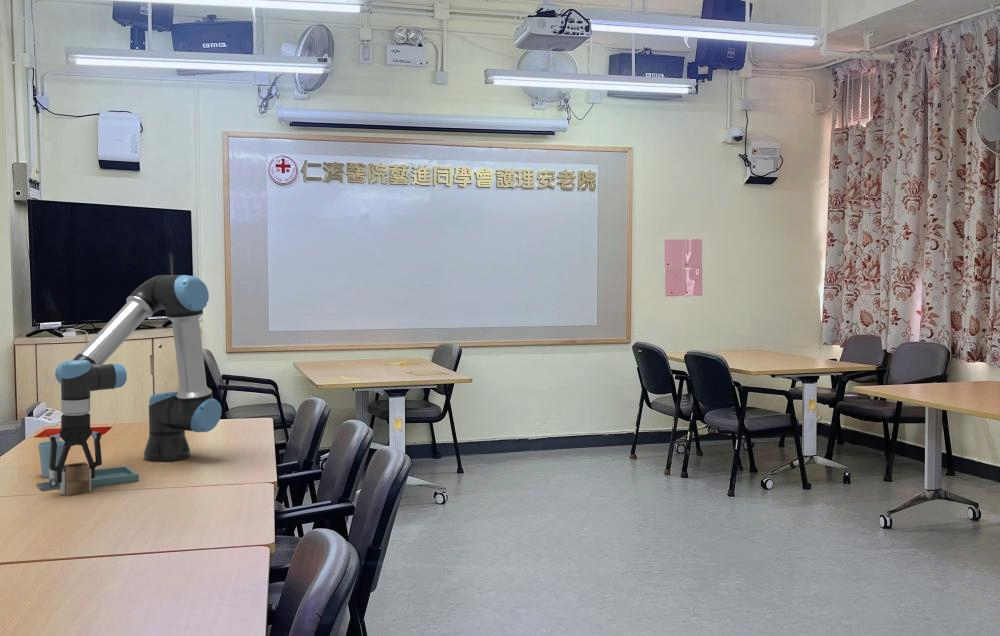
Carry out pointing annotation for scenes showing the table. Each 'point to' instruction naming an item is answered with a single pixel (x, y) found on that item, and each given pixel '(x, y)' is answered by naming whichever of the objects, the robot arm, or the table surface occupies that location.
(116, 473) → the tray
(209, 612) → the table surface
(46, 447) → the cup
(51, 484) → the knob mounting plate
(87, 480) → the bored block
